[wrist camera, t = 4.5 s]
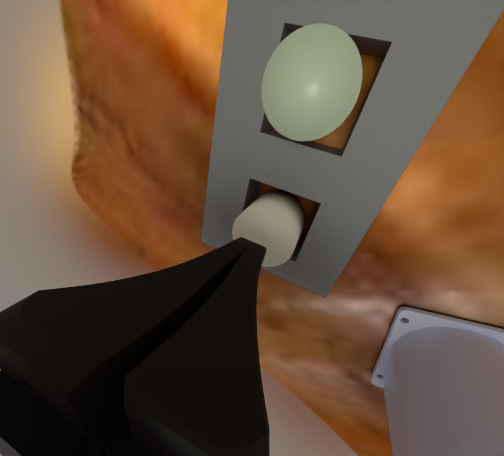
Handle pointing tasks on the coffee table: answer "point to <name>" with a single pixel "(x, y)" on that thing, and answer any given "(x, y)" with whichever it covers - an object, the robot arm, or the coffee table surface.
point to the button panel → (362, 133)
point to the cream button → (272, 226)
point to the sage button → (312, 82)
